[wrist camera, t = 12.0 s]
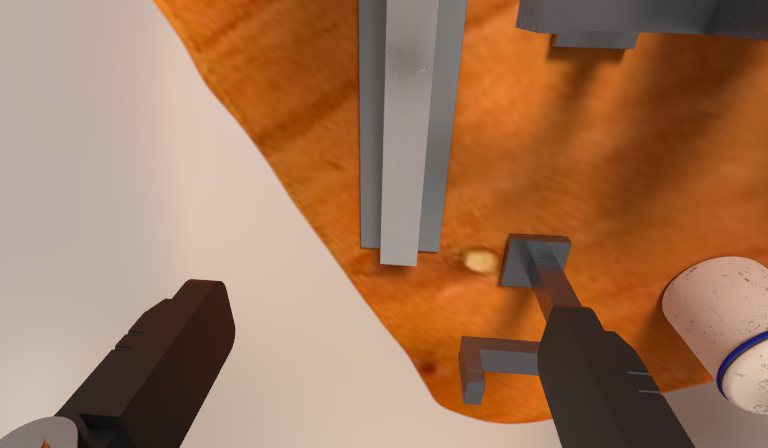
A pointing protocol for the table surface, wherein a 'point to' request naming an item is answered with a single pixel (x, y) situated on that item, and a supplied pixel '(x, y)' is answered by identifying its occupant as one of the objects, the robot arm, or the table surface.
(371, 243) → the rubber mat
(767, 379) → the teacup with lid
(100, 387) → the robot arm
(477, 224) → the table surface
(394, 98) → the aluminium rail
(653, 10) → the rail stand
